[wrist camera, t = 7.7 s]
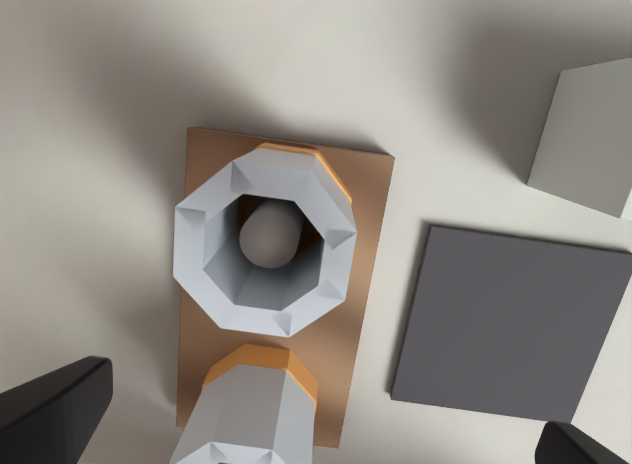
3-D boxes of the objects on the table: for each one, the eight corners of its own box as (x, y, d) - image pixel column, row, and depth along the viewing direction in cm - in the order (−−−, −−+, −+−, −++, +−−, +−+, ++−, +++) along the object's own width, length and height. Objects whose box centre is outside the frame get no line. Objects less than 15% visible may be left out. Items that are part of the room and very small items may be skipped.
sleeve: (336, 274, 18) (340, 347, 12) (219, 257, 18) (168, 323, 12) (356, 155, 17) (370, 176, 11) (227, 137, 16) (173, 148, 11)
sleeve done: (308, 441, 21) (300, 563, 15) (206, 427, 21) (161, 544, 15) (322, 354, 19) (319, 454, 14) (212, 339, 19) (164, 432, 14)
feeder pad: (565, 418, 22) (570, 424, 21) (389, 394, 21) (391, 399, 21) (633, 253, 19) (639, 256, 18) (429, 224, 19) (431, 226, 18)
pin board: (337, 431, 22) (340, 533, 17) (183, 410, 22) (136, 505, 17) (390, 154, 18) (418, 172, 12) (196, 127, 18) (137, 132, 12)
